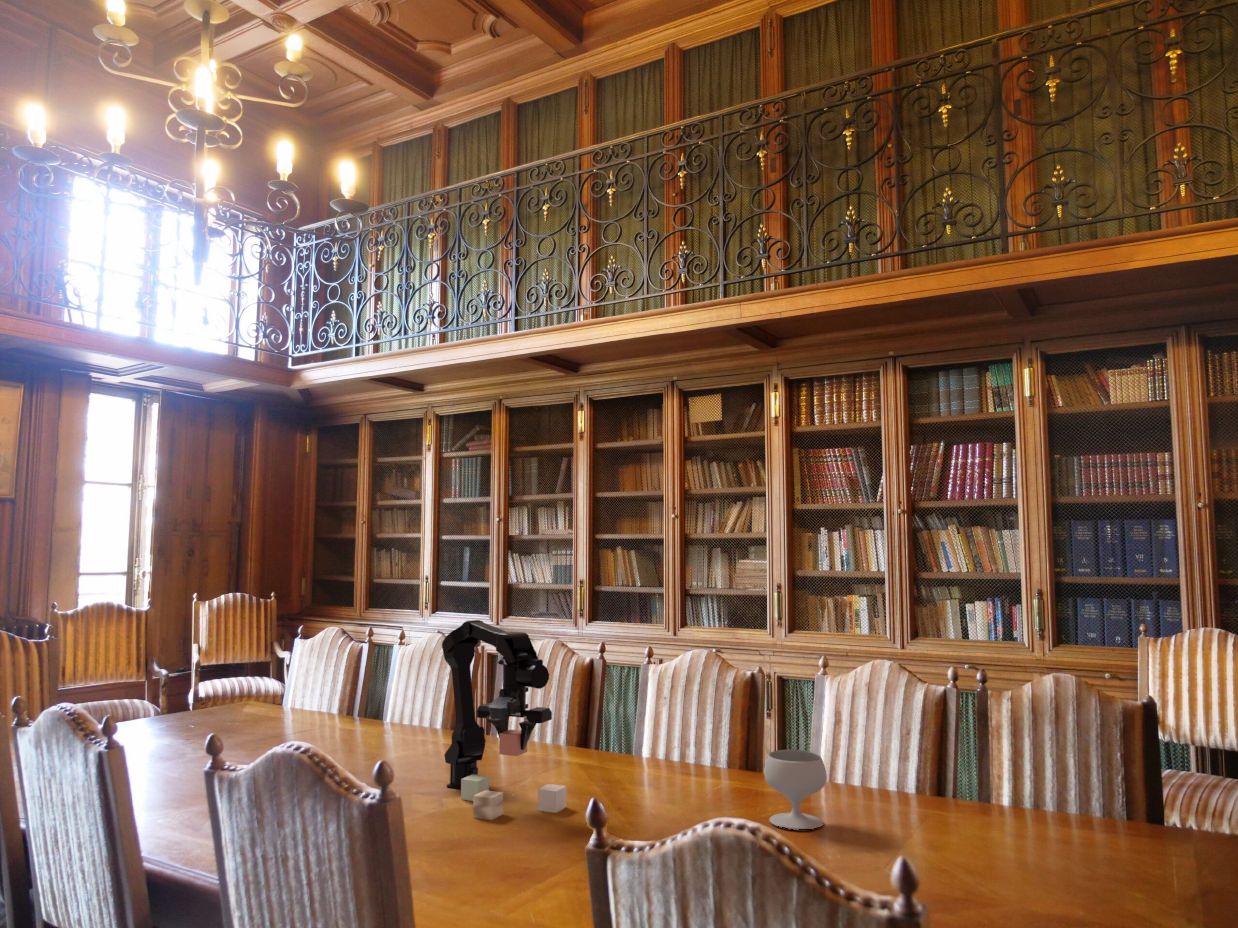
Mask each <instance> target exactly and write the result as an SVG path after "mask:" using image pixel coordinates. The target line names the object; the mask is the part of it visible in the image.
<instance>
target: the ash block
mask: <svg viewBox="0 0 1238 928" xmlns="http://www.w3.org/2000/svg"><path fill="white" fill-rule="evenodd" d="M472 802H473V803H472V805H473V808H472V817H473V819H480V820H487V821H492V820H494V819H497V818H498V817H500V816H502V815H504V792H503V791H494V790H489V791H488V790H485V791H482V792H480V793H478V794H476V795H474V796H473V801H472Z"/></svg>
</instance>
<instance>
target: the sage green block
mask: <svg viewBox="0 0 1238 928" xmlns="http://www.w3.org/2000/svg"><path fill="white" fill-rule="evenodd" d="M485 790H488V791H490V775H489V776H488V775H481V774H478V775H474V774H472V775H470V776H467V777H465V778H463V779H461V789H460V800H461V801H462V800H463V801H470V802H473V796H474V795H476V794H478V793H480V792H482V791H485Z"/></svg>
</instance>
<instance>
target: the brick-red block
mask: <svg viewBox="0 0 1238 928" xmlns="http://www.w3.org/2000/svg"><path fill="white" fill-rule="evenodd" d="M498 742H499V743H498V744H499V745H498V746H499V753H498V754H499V755H502V756H503V755H504V756H510V757H511V756H513V757H519V756H521V755H523V754H526V753H527V752H528V743H527V744H526V747H525V749H524V750H521V729H519V730H518V729H508V730H507V731H505V732H502V733H500V739H499V741H498Z"/></svg>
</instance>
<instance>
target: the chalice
mask: <svg viewBox="0 0 1238 928" xmlns="http://www.w3.org/2000/svg"><path fill="white" fill-rule="evenodd" d="M763 772H764V780H765V782H766V783H767V785H768V786H769V787H770V788H772V790H775V792H777V793H779V794H780V795H782V796H784V797H785V798H787V800H788V801H789V802H790V805H791V811H790V812H780V813H776V814H774V815H771V817H769V819H768V821H769V823H770V822H771V823H770V824H772V826H775V827H778V826H779V827H778V828H780V829H783V828H782V827H785V828H788V829H787V830H791V829H793V830H792V831H800V830H799V829H810V828H815V827H818V826H821V825H822V824H823V823H824V821H823V820H822V819H821V818H820V817H818V816H815V815H813V814H809V813H804V812H803V813H802V812H801V805H802V803H803V802H804V800H805V799H807V798H808V797H811V796H812V795H814V794H817V793H818V792H820V791H821V790H822V789H823V788H824V786H825V785H826V783H827V777H828V776H827V770H826V767H825V763H824V761H823V759H822V757H821V755H820V754H818V753H816V752H813V751H809V750H803V749H780V750H779V749H778V750H773V751H771V752H769V754H768V756H767V758H766V761H765V765H764V771H763ZM822 821H823V822H822ZM823 825H824V824H823ZM785 828H784V829H785Z"/></svg>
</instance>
